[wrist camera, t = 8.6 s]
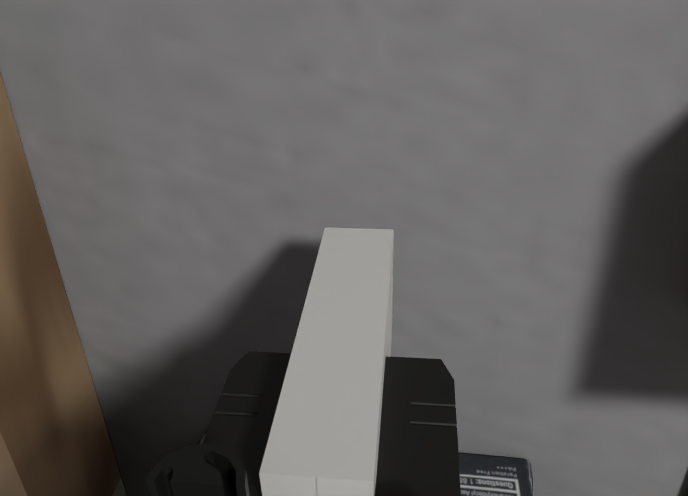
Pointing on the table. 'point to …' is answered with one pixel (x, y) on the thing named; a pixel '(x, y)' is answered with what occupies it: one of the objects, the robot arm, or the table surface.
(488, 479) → the small box
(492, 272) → the table surface
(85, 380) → the wooden frame pieces
